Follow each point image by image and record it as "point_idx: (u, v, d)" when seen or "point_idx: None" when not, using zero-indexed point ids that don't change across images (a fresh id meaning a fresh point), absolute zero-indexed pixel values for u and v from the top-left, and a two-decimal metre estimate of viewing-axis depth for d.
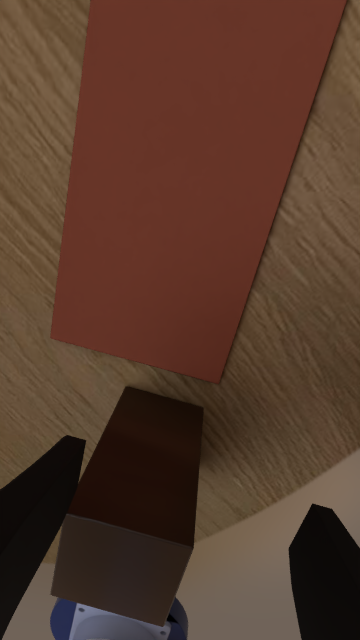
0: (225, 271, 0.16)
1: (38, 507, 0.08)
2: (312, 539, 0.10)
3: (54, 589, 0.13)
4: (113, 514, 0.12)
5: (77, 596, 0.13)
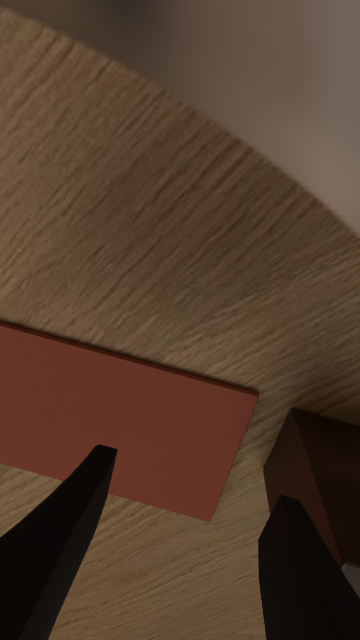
0: (143, 388, 0.18)
1: (81, 519, 0.08)
2: (278, 529, 0.10)
3: None
4: None
5: None
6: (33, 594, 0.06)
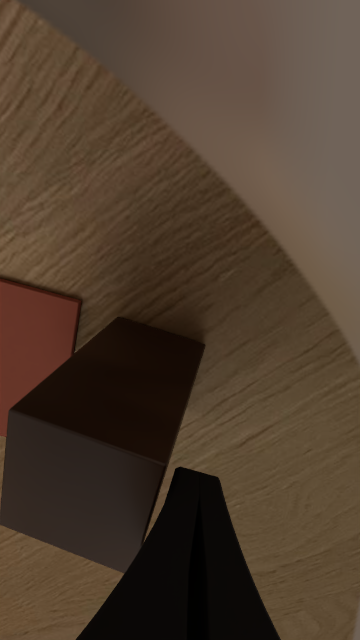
0: None
1: None
2: None
3: (119, 570, 0.10)
4: None
5: (125, 549, 0.10)
6: (180, 636, 0.06)
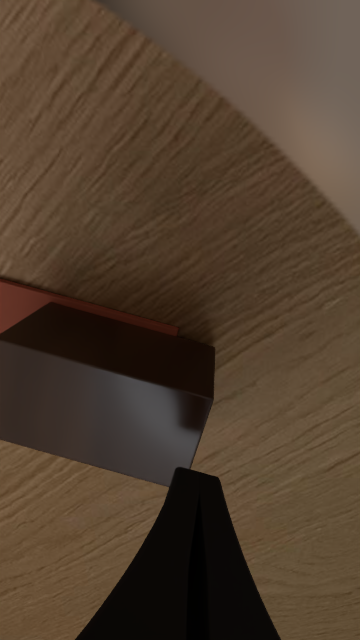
0: None
1: None
2: None
3: None
4: None
5: None
6: (179, 636, 0.06)
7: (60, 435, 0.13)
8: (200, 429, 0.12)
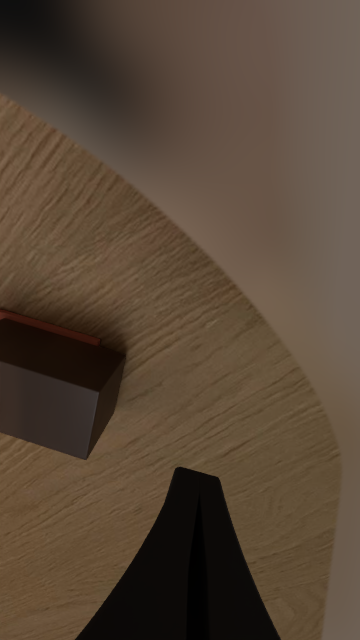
0: None
1: None
2: None
3: None
4: None
5: None
6: (179, 636, 0.06)
7: None
8: (92, 413, 0.17)
